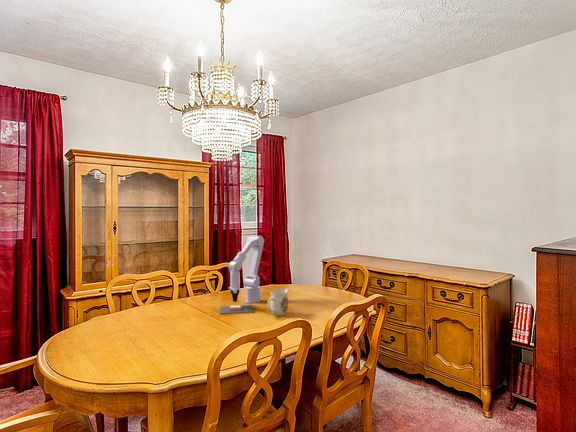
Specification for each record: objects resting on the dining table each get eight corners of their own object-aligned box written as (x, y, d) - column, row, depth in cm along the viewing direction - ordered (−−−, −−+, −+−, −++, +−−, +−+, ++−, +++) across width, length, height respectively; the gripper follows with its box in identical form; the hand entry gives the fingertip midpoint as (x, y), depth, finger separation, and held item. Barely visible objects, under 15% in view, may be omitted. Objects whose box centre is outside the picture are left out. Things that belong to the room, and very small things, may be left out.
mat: (252, 305, 218) (252, 304, 218) (253, 312, 204) (253, 311, 204) (220, 307, 215) (220, 306, 215) (219, 314, 201) (219, 313, 201)
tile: (240, 304, 211) (241, 307, 206) (240, 308, 211) (241, 310, 206) (229, 305, 210) (229, 307, 205) (229, 308, 210) (229, 311, 205)
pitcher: (260, 316, 197) (260, 292, 197) (280, 308, 212) (280, 286, 211) (275, 320, 191) (275, 295, 190) (294, 312, 205) (294, 289, 205)
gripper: (228, 278, 221) (228, 298, 222) (228, 283, 207) (228, 305, 207) (239, 277, 222) (239, 298, 223) (240, 282, 208) (240, 304, 209)
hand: (235, 301), depth 215 cm, fingers closed
